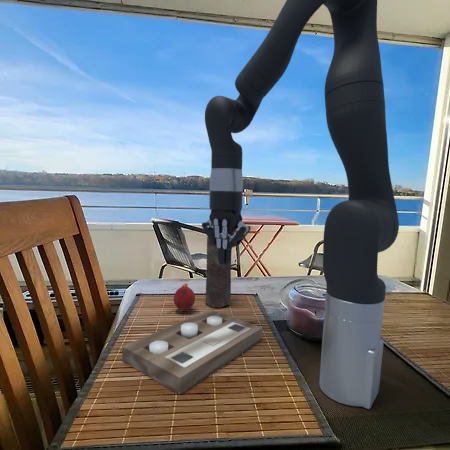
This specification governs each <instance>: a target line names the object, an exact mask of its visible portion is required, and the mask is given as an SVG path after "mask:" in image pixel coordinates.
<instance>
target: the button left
mask: <svg viewBox="0 0 450 450" xmlns="http://www.w3.org/2000/svg"><path fill="white" fill-rule="evenodd" d="M167 350H168V343H167V342H165V341H154V342H152V343H151V344H150V345H149V351H150V352H152V353H154V354H156V355H159V354H161V353H163V352H165V351H167Z"/></svg>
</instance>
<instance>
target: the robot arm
mask: <svg viewBox="0 0 450 450" xmlns="http://www.w3.org/2000/svg"><path fill="white" fill-rule="evenodd" d="M322 6H324V7H325V8H327V10H328V12H329V14H330V18H331V19H330V20H331V24H332V32H333V41H334V43H333V44H334V45H333V46H334V47H333V55H332V58H331V61H330V65H329V67H328V71H327V74H326V78H325V82H324V105H325V106H324V107H325V117H326V118H325V119H326V126H327V130H328V133H329V136H330V138H331V141H332V143H333V145H334V148H335V150H336V152H337V153H338V154H337V155H338V156H339V158H340V161H341V163H342V165H343V167H344V168H343V169H344V171H345V175H346V179H347V188H348V189H347V191H348V199H347V200H344V201H341V202H339V203H337V204H335V205H334V206H333V207H332V208H330V211H329V212H328V214H327V217H326V219H325V223H324V228H323V229H324V230H323V241H322V242H323V244H322V247H323V249H322V271H323V272H322V273H323V276H324V279H325V283H326V289H325V290H326V291H325V299H324V300H325V302H324V314H323V317H324V318H323V326H322V327H323V328H322V340H321V341H322V342H321V352H320V353H321V357H320V368H319V369H320V370H319V388H320V390H321V391H322V392H323V394H325V395H326V396H327V397H328V398H329V399H331V400H333V401H335V402H337V403H340V404H343V405H346V406H351V407H360V408H361V407H362V408H365V409H368V410H370V409H371V407H372V406H373V403H374V401H375V400H376V399H377V396H378V395H379V392H380V382H381V374H382V363H383V362H382V360H383V352H384V340H383V339H382V330H383V320H384V310H385V308H384V307H385V298H386V293H387V290H386V289H387V287H386V286H387V285H386V284H385V282H384V281H385V280H383V279H381V278H380V277H379V276H378V261H379V259H378V257H379V253H381V252H384V251H386V250H388V249H389V248H391V247H392V245H393V244H394V243H395V242H396V239H397V237H398V234H399V228H400V221H399V214H398V210H397V209H398V208H397V205H396V200H395V194H394V190H393V189H394V188H393V184H392V178H391V174H390V173H391V172H390V164H389V147H388V134H387V133H388V132H387V119H386V117H387V115H386V99H385V90H384V88H385V87H384V78H383V71H382V70H383V69H382V61H381V51H380V43H379V39H378V0H286V1H285V2H284V4H283V6H282V8H281V9H280V12H279V13H278V15H277V17H276V19H275V21H274V23H273V25H272V26H271V28H270V30H269V31H268V32H267V34H266V36H265V38H264V39H263V41H262V42H261V44H260V45H259V46H258V48H257V49H256V51H255V52H254V54H253V55H252V56H251V58H250V59H249V60H248V61H247V63H246V64H245V66H244V67H243V68H242V69H241V71H240V72H239V73H238V75H237V77H236V79H235V80H234V81H235V82H234V85H235V86H234V87H235V88H236V91H237V92H238V93H239V94H238V97H237V98H236V99H234V98H229V97H226V96H223V95H215V96H214V97H212V98H211V99H210V100H209V101H208V103H207V104H206V107H205V110H204V124H205V129H206V133H207V137H208V142H209V146H210V149H211V164H210V165H211V167H210V168H211V169H210V176H209V210H210V214H209V216H208V217H209V219H208V220H207V221H205V222H202V223H201V227H202V229H203V230H204V233H205V234H206V237H208V238H209V240H210V242H211V244H212V245H216V246H217V247H218V261H219V263H220V264H223V265H227V264H229V263H230V262H231V263H232V250H233V248H235V247H238V246H240V244H241V243H242V242H243V240H244V239H245V238H246V237H247V235H248V234H249V233H250V231H251V229H252V228H251V226H250V225H246V224H245V223H244V222H243V217H242V214H241V212H242V209H243V192H244V191H243V189H244V188H243V187H244V186H243V185H244V181H243V180H244V179H243V176H244V175H243V148H242V146H241V144H240V143H238V142H237V141H235V140H234V137H233V136H232V134H238V133H241V132H243V131H244V130H246V129H247V128H248V127H249V126H250V124H251V123H252V121H253V120H254V118H255V115H256V114H257V112H258V111H259V108H260V106H261V103H262V102H263V99H264V98H265V97H266V96H267V95H268V94H269V93H270V92H271V90H272V89H273V88H274V87H275V86H276V84H277V83H278V82H279V81H280V80H281V78H282V77H283V75H284V74H285V72H286V70H287V69H288V67H289V65H290V63H291V59H292V57H293V55H294V51H295V49H296V47H297V43H298V41H299V38H300V36H301V34H302V32H303V30H304V29H305V26H306V25H307V23H308V22H309V21H310V20H311V18H312V17H313V16H314V14H315V13H316V12H317V11H318V10H319V9H320V7H322Z"/></svg>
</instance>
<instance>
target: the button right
mask: <svg viewBox="0 0 450 450" xmlns="http://www.w3.org/2000/svg"><path fill="white" fill-rule="evenodd" d="M207 323H208V324H210V325H213V326H218V325H220V324H222V318H221V317H219V316H210V317H208V318H207Z"/></svg>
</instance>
